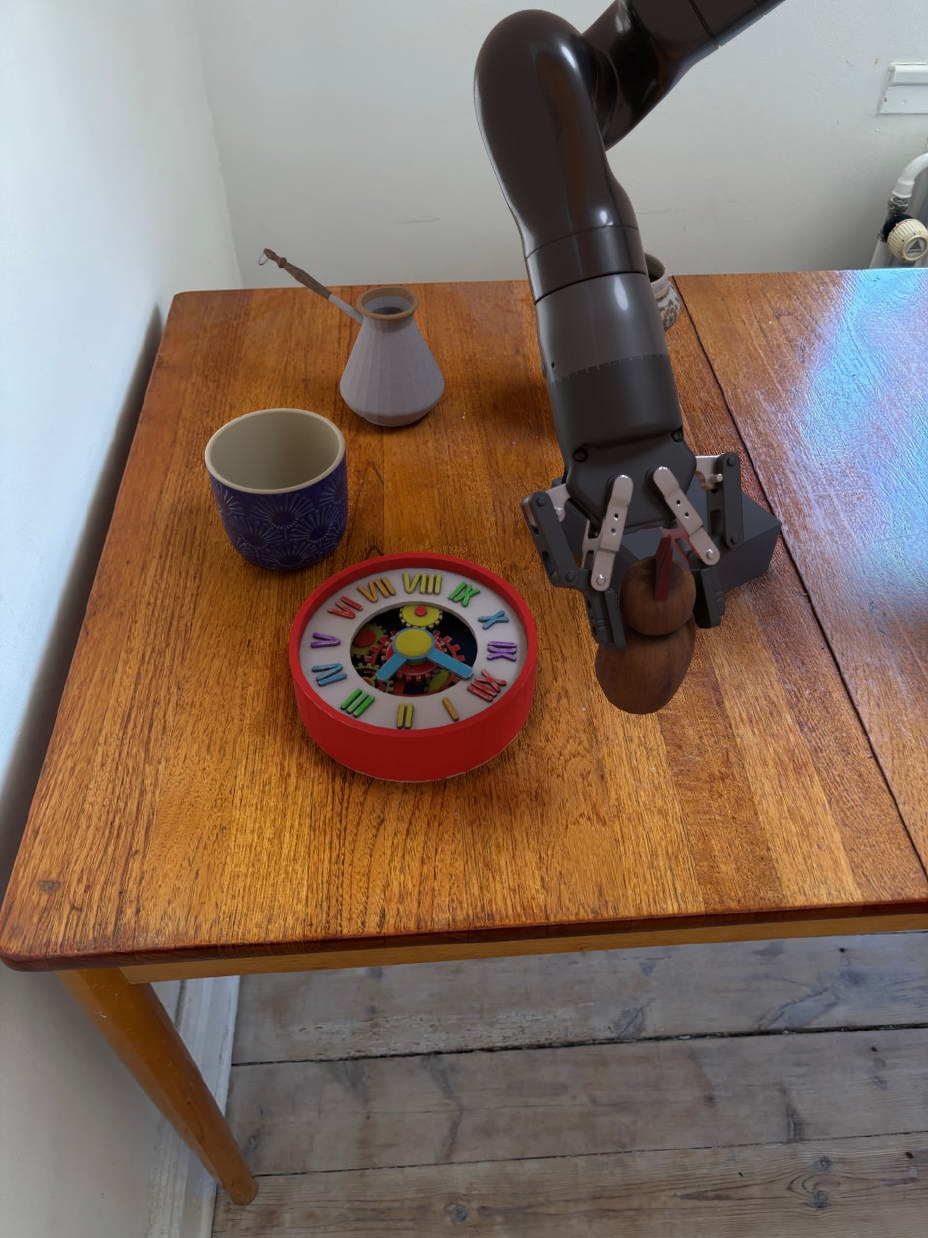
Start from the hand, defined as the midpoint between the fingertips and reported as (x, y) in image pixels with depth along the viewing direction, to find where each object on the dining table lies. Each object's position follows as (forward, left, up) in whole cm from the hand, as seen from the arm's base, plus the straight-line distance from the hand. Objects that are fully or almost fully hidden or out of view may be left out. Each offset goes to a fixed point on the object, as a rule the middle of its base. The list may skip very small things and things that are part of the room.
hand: (663, 637), depth 62 cm
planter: (+8, -41, -20) cm, 47 cm away
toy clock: (+7, -19, -20) cm, 29 cm away
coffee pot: (-9, -59, -20) cm, 64 cm away
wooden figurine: (-1, -2, -7) cm, 8 cm away
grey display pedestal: (-21, -21, -20) cm, 36 cm away
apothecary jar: (-30, -40, -20) cm, 54 cm away
